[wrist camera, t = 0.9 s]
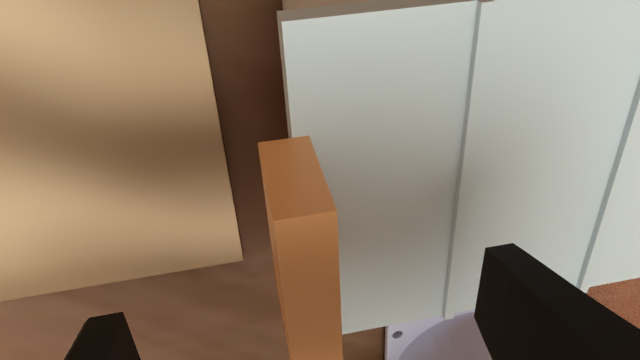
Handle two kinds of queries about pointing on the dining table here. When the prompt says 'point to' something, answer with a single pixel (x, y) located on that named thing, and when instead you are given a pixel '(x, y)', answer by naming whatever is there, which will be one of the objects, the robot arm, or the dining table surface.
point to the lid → (448, 155)
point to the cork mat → (108, 145)
